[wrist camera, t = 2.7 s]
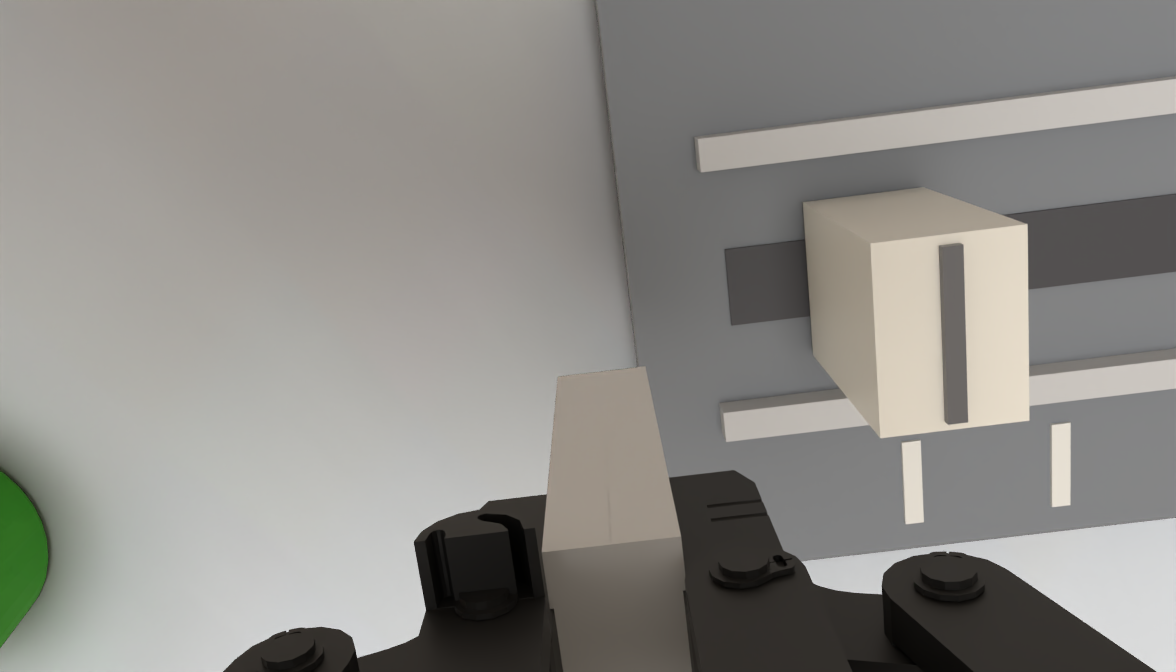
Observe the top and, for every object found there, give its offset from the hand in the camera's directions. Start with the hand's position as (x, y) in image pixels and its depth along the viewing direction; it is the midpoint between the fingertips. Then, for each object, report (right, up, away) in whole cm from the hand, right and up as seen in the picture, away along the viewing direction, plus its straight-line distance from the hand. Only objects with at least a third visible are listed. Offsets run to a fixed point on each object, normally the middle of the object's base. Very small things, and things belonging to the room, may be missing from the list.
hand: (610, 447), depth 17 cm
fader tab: (+7, +4, +8) cm, 11 cm away
